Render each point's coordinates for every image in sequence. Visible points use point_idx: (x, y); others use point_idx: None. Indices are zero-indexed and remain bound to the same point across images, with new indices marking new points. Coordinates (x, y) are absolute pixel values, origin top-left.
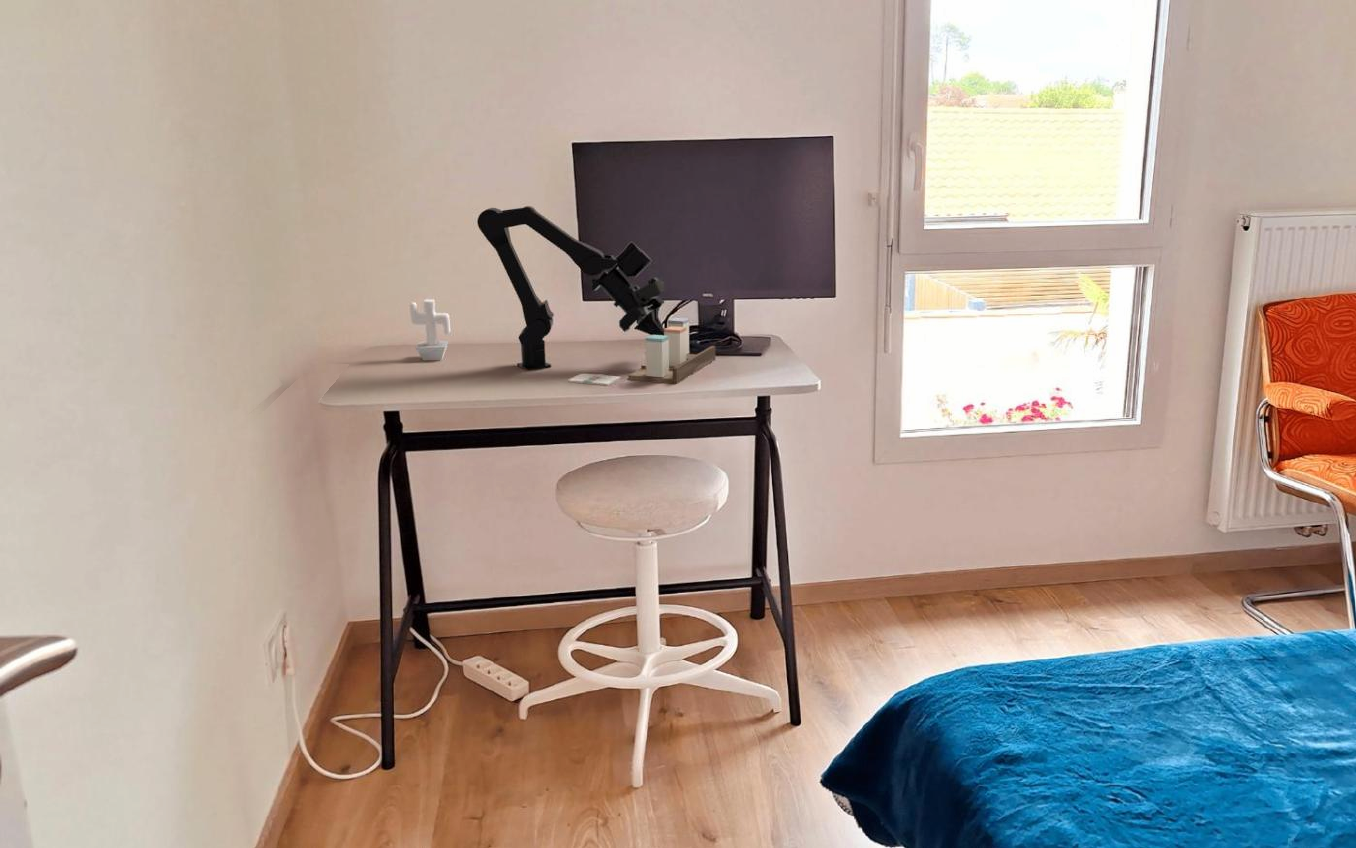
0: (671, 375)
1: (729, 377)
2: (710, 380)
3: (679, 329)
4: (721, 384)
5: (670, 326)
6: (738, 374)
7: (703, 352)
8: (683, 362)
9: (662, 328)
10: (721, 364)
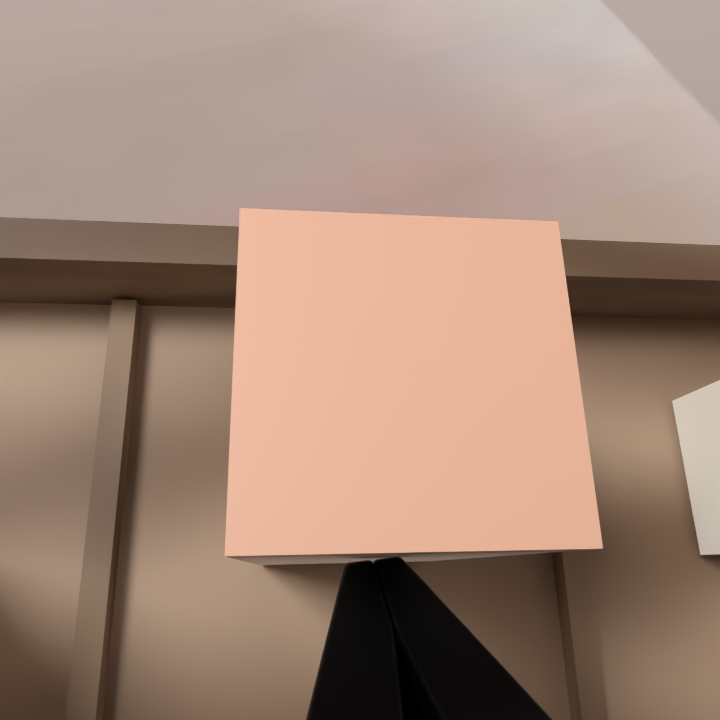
0: (693, 369)
1: (424, 50)
2: (553, 134)
3: (490, 253)
4: (613, 54)
5: (253, 544)
6: (321, 19)
7: (126, 232)
8: (618, 271)
9: (387, 697)
10: (29, 188)
